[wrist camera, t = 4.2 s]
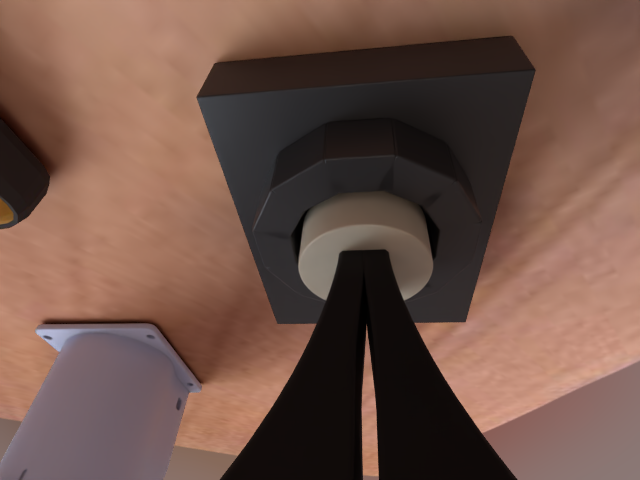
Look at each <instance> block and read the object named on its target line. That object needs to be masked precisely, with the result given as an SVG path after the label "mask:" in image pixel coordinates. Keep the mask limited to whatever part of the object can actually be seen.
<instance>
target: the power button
mask: <svg viewBox="0 0 640 480" xmlns="http://www.w3.org/2000/svg"><path fill="white" fill-rule="evenodd" d="M380 249H385V250H387V251H388V252H389V256H390V261H391V265H392V268H393V272H394V275H395V278H396V281H397V284H398V286H399V289H400V292H401V294H402V297H403V299H404V300H406V299H408V298H410V297H412V296H414V295H415V294H417V293H418V292H419V291H420V290H421V289H422V288H423V287H424V286H425V285H426V284H427V282H428V281H429V279H430V277H431V274H432V271H433V259H432V253H431V247H430V242H429V236H428V230H427V224H426V218H425V215H424V213H423V211H422V209H421V208H420V206H419V205H418V204H416V203H414V202H411V201H409V200H406V199H403V198H401V197H398V196H396V195H393V194H391V193H388V192H385V191H374V192H353V193H339V194H337V195H335V196H333V197H331V198H329V199H327V200H325V201H323V202H321V203H319V204H317V205H315V206H313V207H311V208H309V210H308V211H307V213H306V216H305V218H304V222H303V230H302V238H301V246H300V254H299V263H298V268H299V273H300V276H301V279H302V281H303V282H304V284H305V285H306V286H307V288H308V289H310V290H311V291H312V292H313V293H314V294H316V295H317V296H319V297H320V298H322V299H324V300H326V299H327V297H328V294H329V291H330V288H331V285H332V282H333V279H334V275H335V271H336V267H337V263H338V257H339V253H340V252H342V251H348V250H380Z"/></svg>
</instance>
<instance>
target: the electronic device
mask: <svg viewBox="0 0 640 480" xmlns="http://www.w3.org/2000/svg"><path fill="white" fill-rule="evenodd" d="M49 181H50V175H49V174H48V172H47V170H46V169H45V167H44V166H43V165H42V163H41V162H40V161H39V160H38V159H37V158H36V157H35V156H34V155H33V154H32V152H31V151H30V150H29V149H28V148H27V147H26V146H25V145H24V144H23V143H22V142H21V140H20V139H19V138H18V137H17V136H16V135H15V134H14V133H13V132H12V131H11V129H10V128H9V127H8V126H7V125H6V124H5V123H4V122H3V121H2V120H1V118H0V229H5V228H10V227H12V226H14V225H16V224H18V223H19V222H21V221H22V220H24V219H25V218H27V217H28V216H29V215H30V214H31V213H32V211H33V210H34V209H35V207H36V206H37V205H38V204H39V202H40V201H41V200H42V199H43V197H44V196H45V195H46V193H47V190H48V186H49Z"/></svg>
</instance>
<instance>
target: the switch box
mask: <svg viewBox="0 0 640 480" xmlns="http://www.w3.org/2000/svg"><path fill="white" fill-rule="evenodd" d="M535 71H536V70H535V68H534V66H533V65H532V64H531V62H530V61H529V59H528V58H527V56H526V55H525V53H524V52H523V50H522V49H521V47H520V46H519V44H518V43H517V41H516V40H515V38H514V37H513V36H509V37H498V38H487V39H476V40H465V41H454V42H443V43H432V44H421V45H410V46H399V47H388V48H377V49H366V50H355V51H344V52H333V53H322V54H311V55H300V56H289V57H278V58H267V59H257V60H246V61H235V62H224V63H215V64H214V66H213V67H212V69H211V71H210V73H209V75H208V77H207V79H206V80H205V82H204V84H203V86H202V88H201V90H200V92H199V93H198V95H197V100H198V103H199V106H200V109H201V111H202V114H203V117H204V120H205V123H206V125H207V128H208V131H209V134H210V137H211V139H212V142H213V145H214V148H215V151H216V153H217V156H218V159H219V162H220V165H221V167H222V170H223V173H224V176H225V179H226V181H227V184H228V187H229V190H230V193H231V195H232V198H233V201H234V204H235V207H236V209H237V212H238V215H239V218H240V221H241V223H242V226H243V229H244V232H245V235H246V237H247V240H248V243H249V246H250V249H251V251H252V254H253V257H254V260H255V263H256V265H257V268H258V271H259V274H260V277H261V279H262V282H263V285H264V288H265V290H266V293H267V296H268V299H269V302H270V304H271V307H272V310H273V313H274V316H275V318H276V321H277V324H317V322H318V320H319V318H320V315H321V313H322V310H323V307H324V305H325V302H326V300H324V299H322V298H320V297H319V296H317V295H316V294H314V293H313V292H312V291H311V290H310V289H308V288H307V286H306V285H305V284H304V282H303V281H302V279H301V276H300V273H299V268H298V263H299V254H300V246H301V238H302V230H303V222H304V218H305V216H306V213H307V211H308V210H309V208H311V207H313V206H315V205H317V204H319V203H321V202H323V201H325V200H327V199H329V198H331V197H333V196H335V195H337V194H339V193H353V192H374V191H385V192H388V193H391V194H393V195H396V196H398V197H401V198H403V199H406V200H409V201H411V202H414V203H416V204H418V205H419V206H420V208H421V209H422V211H423V213H424V215H425V218H426V224H427V230H428V236H429V242H430V247H431V253H432V259H433V271H432V274H431V277H430V279H429V281H428V282H427V284H426V285H425V286H424V287H423V288H422V289H421V290H420V291H419V292H418V293H417V294H415V295H414V296H412V297H410V298H408V299H406V300H404V302H405V304H406V306H407V308H408V311H409V313H410V315H411V317H412V320H413V322H414V323H429V322H466V318H467V315H468V311H469V308H470V304H471V300H472V297H473V293H474V290H475V286H476V283H477V279H478V275H479V272H480V268H481V265H482V261H483V257H484V254H485V250H486V247H487V243H488V239H489V236H490V232H491V229H492V225H493V221H494V218H495V214H496V211H497V207H498V203H499V200H500V196H501V193H502V189H503V186H504V182H505V178H506V175H507V171H508V168H509V164H510V160H511V157H512V153H513V150H514V146H515V142H516V139H517V135H518V132H519V128H520V124H521V121H522V117H523V114H524V110H525V106H526V103H527V99H528V96H529V92H530V89H531V85H532V81H533V78H534V74H535Z"/></svg>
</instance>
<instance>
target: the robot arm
mask: <svg viewBox="0 0 640 480" xmlns="http://www.w3.org/2000/svg"><path fill="white" fill-rule="evenodd" d="M366 326H367V330H368V338H369V347H370V355H371V363H372V371H373V380H374V388H375V397H376V410H377V438H378V466H379V480H517V478H516V477H515V476H514V475H513V474H512V472H511V471H510V470H509V468H508V467H507V466H506V465H505V464H504V462H503V461H502V460H501V458H500V457H499V456H498V454H497V453H496V452H495V450H494V449H493V448H492V446H491V445H490V444H489V443H488V441H487V440H486V438H485V437H484V436H483V434H482V433H481V432H480V430H479V429H478V427H477V426H476V425H475V423H474V422H473V420H472V419H471V417H470V416H469V415H468V413H467V412H466V410H465V409H464V407H463V406H462V404H461V403H460V402H459V400H458V399H457V397H456V396H455V394H454V393H453V391H452V389H451V388H450V386H449V385H448V383H447V381H446V380H445V378H444V377H443V375H442V373H441V372H440V370H439V368H438V367H437V365H436V363H435V362H434V360H433V358H432V356H431V355H430V353H429V351H428V349H427V347H426V345H425V344H424V342H423V340H422V338H421V336H420V334H419V332H418V330H417V328H416V326H415V324H414V322H413V320H412V317H411V315H410V313H409V311H408V308H407V306H406V304H405V302H404V299H403V297H402V294H401V292H400V289H399V286H398V284H397V281H396V278H395V275H394V272H393V268H392V265H391V261H390V256H389V252H388V251H387V250H385V249H380V250H348V251H342V252H340V253H339V257H338V263H337V267H336V271H335V275H334V279H333V282H332V285H331V288H330V291H329V294H328V297H327V299H326V302H325V305H324V307H323V310H322V313H321V315H320V318H319V320H318V322H317V324H316V327H315V329H314V331H313V333H312V335H311V338H310V340H309V342H308V344H307V346H306V348H305V350H304V352H303V354H302V356H301V358H300V360H299V362H298V364H297V366H296V368H295V369H294V371H293V373H292V375H291V377H290V378H289V380H288V382H287V383H286V385H285V387H284V388H283V390H282V392H281V394H280V395H279V397H278V399H277V400H276V402H275V403H274V405H273V406H272V408H271V410H270V411H269V413H268V414H267V416H266V417H265V418H264V420H263V421H262V423H261V424H260V426H259V427H258V429H257V430H256V432H255V433H254V435H253V436H252V438H251V439H250V440H249V442H248V443H247V445H246V446H245V447H244V449H243V450H242V451H241V453H240V454H239V455H238V457H237V458H236V459H235V461H234V462H233V463H232V465H231V466H230V467H229V468H228V470H227V471H226V472H225V474H224V475H223V476H222V478H221V479H220V480H363V464H362V411H361V408H362V385H363V371H364V356H365V341H366ZM35 332H36V333H37V334H38V335H39V336H40V337H41V338H43V339H44V340H45V341H46V342H47V343H49V344H50V345H51V346H52V347H54V348H55V349H56V350H57V351H58V352H59V354H58V356H57V358H56V360H55V362H54V364H53V365H52V367H51V369H50V371H49V373H48V375H47V377H46V378H45V380H44V382H43V384H42V386H41V388H40V390H39V392H38V393H37V395H36V397H35V399H34V401H33V403H32V405H31V406H30V408H29V410H28V412H27V414H26V416H25V418H24V419H23V421H22V423H21V425H20V427H19V429H18V431H17V433H16V434H15V436H14V438H13V440H12V442H11V444H10V446H9V447H8V450H7V451H6V453H5V455H4V457H3V458H2V461H1V462H0V480H163V478H164V477H165V474H166V472H167V469H168V465H169V462H170V458H171V454H172V451H173V448H174V444H175V441H176V437H177V433H178V430H179V426H180V423H181V419H182V416H183V412H184V409H185V405H186V401H187V398H188V394H189V392H200V391H201V389H202V385H201V384H200V383H199V381H198V380H197V379H196V378H195V376H194V375H193V374H192V372H191V371H190V370H189V369H188V367H187V366H186V365H185V363H184V362H183V361H182V360H181V358H180V357H179V356H178V354H177V353H176V352H175V351H174V349H173V348H172V347H171V345H170V344H169V343H168V341H167V340H166V339H165V338H164V336H163V335H162V334H161V332H160V331H159V330H158V329H157V327H156V326H154V325H152V324H148V323H126V324H41V325H38V326H37V328H36V329H35Z"/></svg>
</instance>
